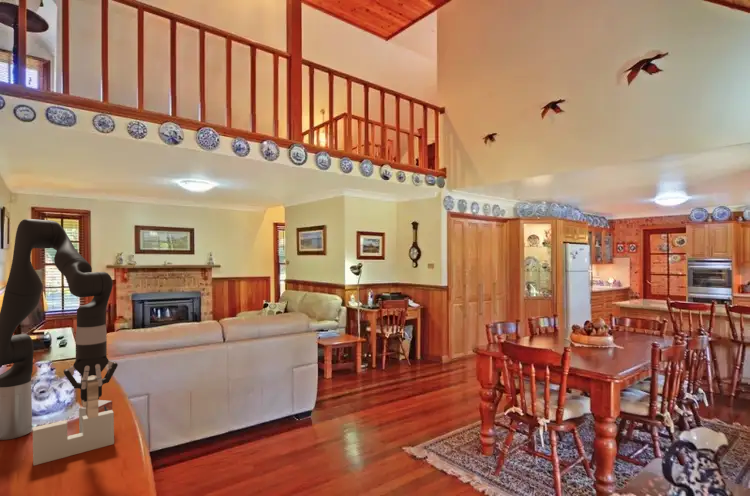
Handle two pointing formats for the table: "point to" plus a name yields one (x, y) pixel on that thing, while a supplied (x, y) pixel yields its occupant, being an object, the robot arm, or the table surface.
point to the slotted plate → (91, 398)
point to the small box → (102, 406)
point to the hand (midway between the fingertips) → (91, 399)
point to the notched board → (72, 438)
